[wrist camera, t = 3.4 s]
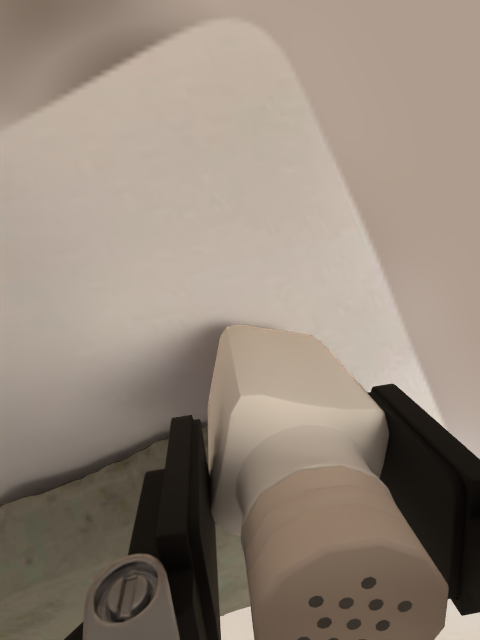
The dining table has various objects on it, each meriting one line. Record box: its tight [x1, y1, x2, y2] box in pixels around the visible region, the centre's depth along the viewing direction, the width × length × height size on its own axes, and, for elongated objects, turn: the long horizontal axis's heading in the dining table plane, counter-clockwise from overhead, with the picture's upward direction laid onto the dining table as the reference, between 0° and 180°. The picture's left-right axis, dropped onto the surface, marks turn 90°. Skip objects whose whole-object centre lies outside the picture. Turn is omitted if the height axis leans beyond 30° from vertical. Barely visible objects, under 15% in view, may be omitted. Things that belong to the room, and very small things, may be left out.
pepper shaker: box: [208, 324, 449, 640], centre depth 10 cm, size 4×4×10 cm
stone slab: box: [0, 426, 251, 640], centre depth 17 cm, size 22×3×10 cm
